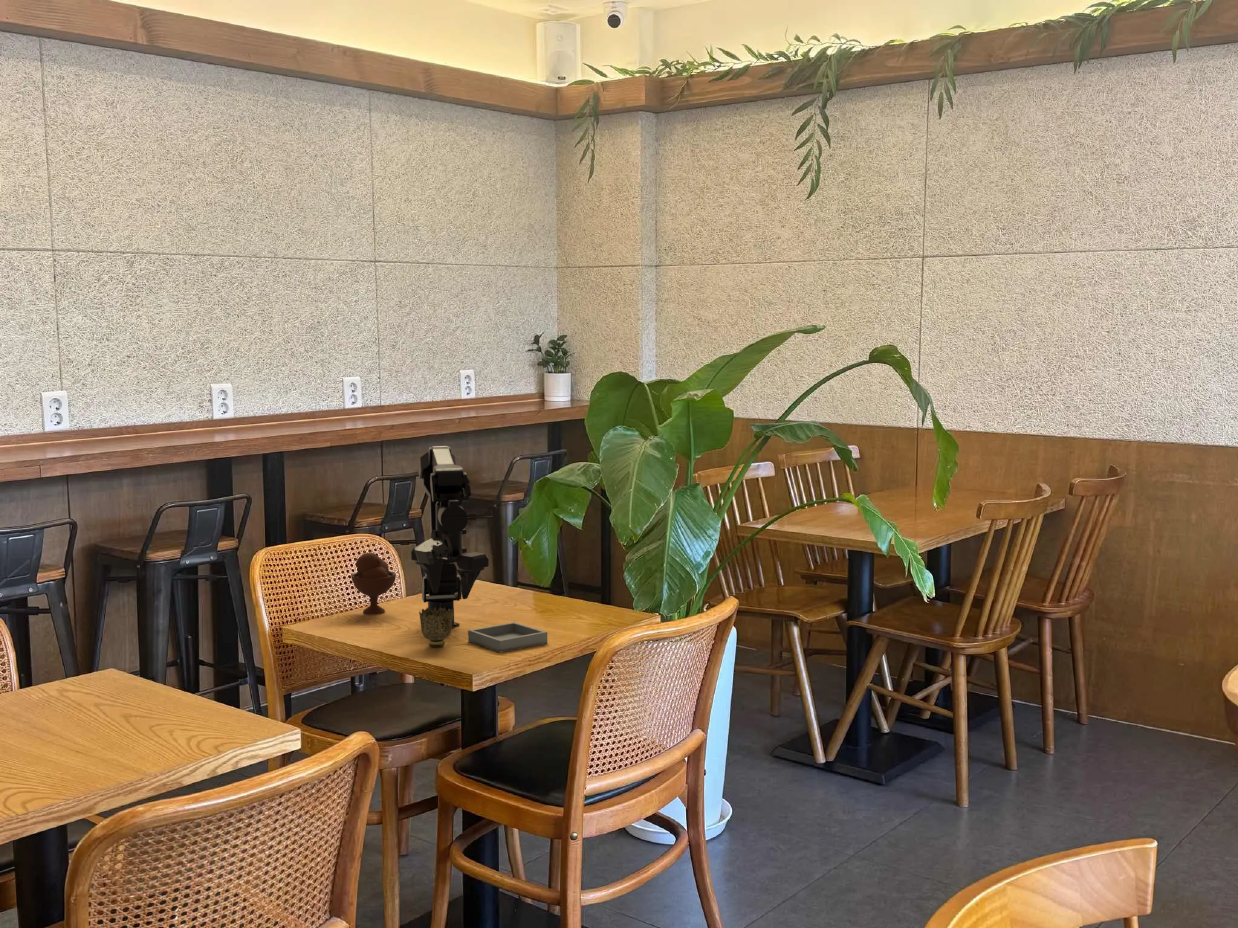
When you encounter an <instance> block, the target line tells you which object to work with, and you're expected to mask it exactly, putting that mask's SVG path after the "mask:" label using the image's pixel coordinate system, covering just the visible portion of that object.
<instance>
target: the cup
mask: <svg viewBox="0 0 1238 928" xmlns="http://www.w3.org/2000/svg"><path fill="white" fill-rule="evenodd" d="M453 612H454V613H455V610H454V611H453V609H452V610H451V611H450V608H449V609H448V611H447V610H446V608H445V607H444V608H443V609H442V608H441V607H440V608H439V609H438V611H437V610H436V607H435V608H434V609H433V611H432V610H431V609H430V608H428V607H426V609H424V608H422V609H421V611H420V610H419V611H418V614H419V620H420V627H421V632H422V635H423V637H424V638H425V639H427V640H428V643H427V644H428V646H429V647H431V648H437V649H438V648H442V647H444V646H445V645H446V641H445V640H446V639H447V638H449V636H450V635H451V632H452V621H453Z"/></svg>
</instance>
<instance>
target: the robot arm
mask: <svg viewBox="0 0 1238 928" xmlns="http://www.w3.org/2000/svg"><path fill="white" fill-rule="evenodd" d="M451 448H452V447H450V446H449V445H432V446H431V447H428V451H427V452H425V453H424V454H423V455H422V456H420V457H419V462H418V478H419V480H421V487H422V489H423V490H424V492H425V494H426V495H427V497H428V500H429V501H428V502H429V503H428V504H429V506H428V507H429V528H430V529H429V530H430V538H429V539H427V540H425V541H423V542H421V543H420V544H418V545H417V546H414V547H413V549H412V550H411V553H410V554H411V558H410V560H412V561H415V564H416V565H418V566H419V567H421V568H422V569H423V571H424V572H425V574H424V575H425V576H422V585H421V599H422V602H423V603H427V608H430V609H431V610H432V611H433V609H434V608H435V607H436V610H437V611H438V609H439V608H440V607H441V608H442V609H443V608H444V607H445V608H446V610H447V611H448V609H449V608H450V611H451V610H452V609H453V611H454V612H453V621H452V627H459V626H460V622H456V621H455V607H454V606H455V605H454V604H455V603H454V602H455V601H457V602H458V601H459V602H460V601H461V600H462V599H463V600H467V599H468V597H469V595H470V594H471V591H472V589H473V586H474V584H475V582H476V581H477V578H478V577H479V575H480V573H481V571H485V568H487V567H490V566H489V563H490V562H489V556H488V555H487V554H486V553H481V552H477V551H472V552H467V551H468V550H467V547H464V545H463V535H466V534H467V529H466V527H467V525H468V522H469V516H468V513H467V511H466V510H465V509H464V508H463V502H469V500H470V497H471V495H472V490H471V484H470V482H471V481H470V477H469V476H468V473H467V472H465V471H464V469H463V467H462V466H461V465H458V464H457V459H456V456H455V455H454V454H453V453H452V449H451ZM455 563H456V564H455ZM456 565H457V566H456ZM457 567H458V569H457Z"/></svg>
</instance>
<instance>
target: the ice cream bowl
mask: <svg viewBox="0 0 1238 928" xmlns="http://www.w3.org/2000/svg"><path fill="white" fill-rule="evenodd" d="M355 567H356V568H357V572H355V573H350V576H351V577H350V578H351V581H352V583H353V585H354V587H355V589H356V590H357V591H358V592H360V593H362V594H363V595H365V596H367V597H369V599H370V602H369V603H370V605H369V606H367V607H366V608H364V609H363V611H362V613H364V614H363V615H368V616H372V615H373V616H374V615H375V616H376V615H382V613H383V614H385V613H386V610H385V608H384V607H381V606H379V605H378V599H379V597H380V596H381V595H383V594H385V593H387V592H388V591H389V590H390V589H391V588H392V587H393V586H394V583H395V581H396V577H397V574H396V573H395V572H394V571H390V569H389V563H387V562H386V561H385V560H383V559H382V558H381V557H380V556H379V555H377V554H376V553H374V552H366V553H362V554H361V555H360V556H359V557H357V559H356V562H355ZM384 612H385V613H384Z"/></svg>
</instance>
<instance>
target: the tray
mask: <svg viewBox="0 0 1238 928" xmlns="http://www.w3.org/2000/svg"><path fill="white" fill-rule="evenodd" d="M467 635H468V636H467V640H468V643H472V644H475V645H478V646H481V647H483V648H487V649H489V650H493V651H496V652H498V653H504V652H509V651H515V650H517V649H518V650H519V649H520V650H521V649H525V648H529V647H535V646H541V645H546V644H548V631H546V630H541V629H538V628H535V627H532V626H529V625H525V624H521V623H519V622H516V621H514V622H508V623H502V624H497V625H495V624H494V625H491V626H490V625H489V626H484V627H478V628H474V629H473V628H472V629H469V630H467Z"/></svg>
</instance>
